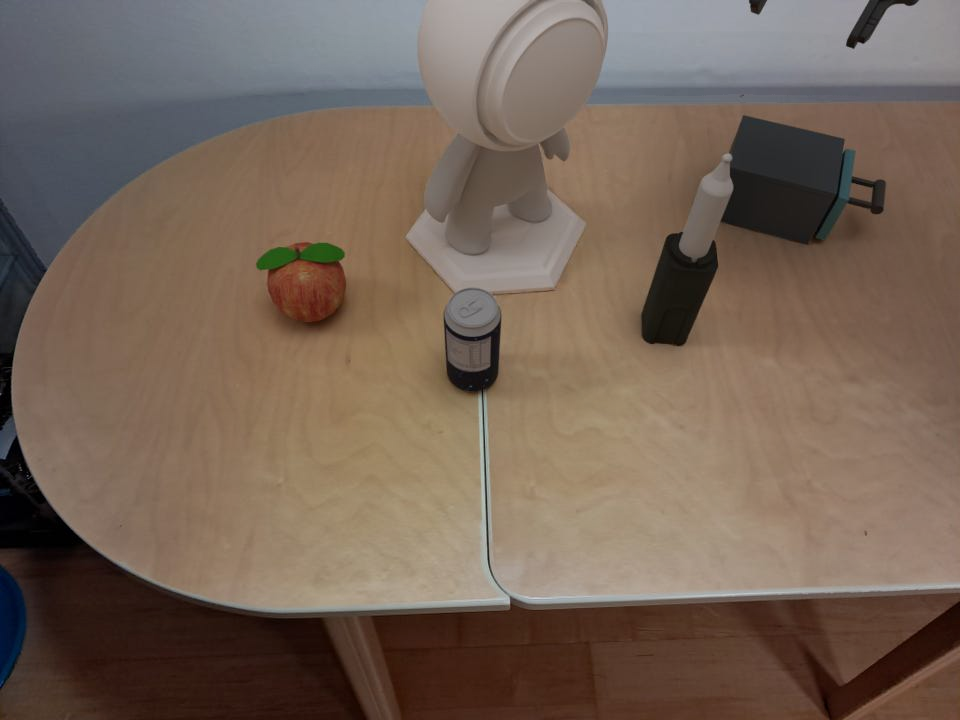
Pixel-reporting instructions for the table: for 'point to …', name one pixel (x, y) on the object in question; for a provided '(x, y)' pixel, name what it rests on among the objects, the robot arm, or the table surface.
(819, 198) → the dark grey drawer cabinet
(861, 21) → the robot arm
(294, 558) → the table surface
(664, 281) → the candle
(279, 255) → the fruit
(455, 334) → the beverage can
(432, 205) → the white toy figurine
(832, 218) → the drawer
